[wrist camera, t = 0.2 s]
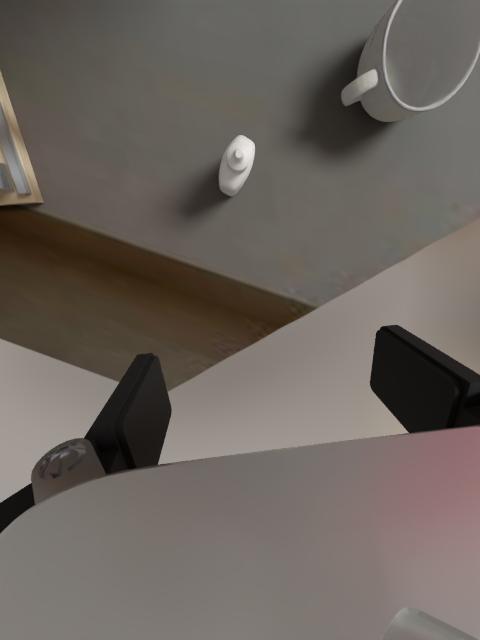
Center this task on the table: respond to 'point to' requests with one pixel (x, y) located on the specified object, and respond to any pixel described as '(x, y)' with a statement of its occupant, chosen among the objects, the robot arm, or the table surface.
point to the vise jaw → (5, 179)
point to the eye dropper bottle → (236, 165)
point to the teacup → (416, 58)
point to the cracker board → (15, 157)
